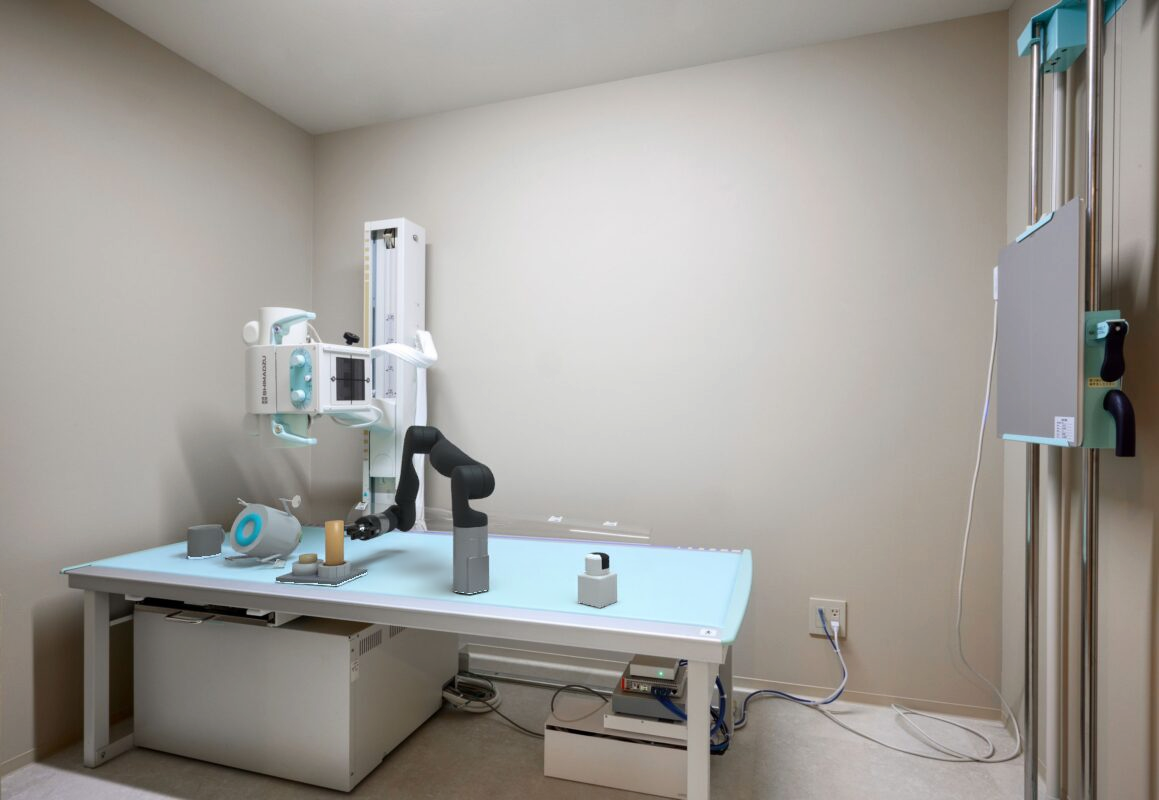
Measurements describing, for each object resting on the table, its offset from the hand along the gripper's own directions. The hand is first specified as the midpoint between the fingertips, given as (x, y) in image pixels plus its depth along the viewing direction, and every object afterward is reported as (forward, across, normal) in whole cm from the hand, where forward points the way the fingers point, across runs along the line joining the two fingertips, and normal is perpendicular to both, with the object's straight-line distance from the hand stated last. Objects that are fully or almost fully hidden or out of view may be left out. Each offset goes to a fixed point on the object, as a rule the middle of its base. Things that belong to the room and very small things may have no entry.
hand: (339, 535), depth 174 cm
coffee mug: (-16, -64, +12) cm, 67 cm away
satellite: (-12, -37, +12) cm, 41 cm away
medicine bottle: (+6, +79, +12) cm, 80 cm away
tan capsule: (+2, 0, +10) cm, 11 cm away
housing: (+2, -4, +12) cm, 13 cm away
